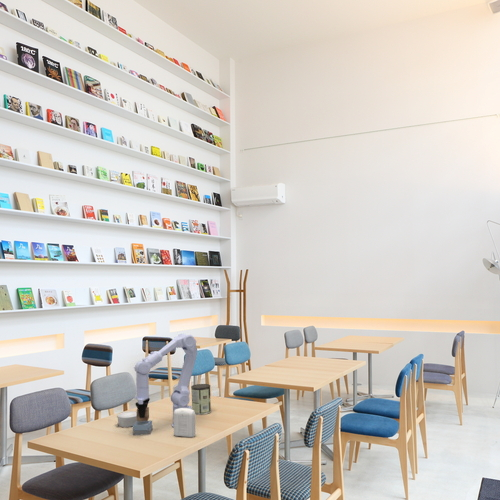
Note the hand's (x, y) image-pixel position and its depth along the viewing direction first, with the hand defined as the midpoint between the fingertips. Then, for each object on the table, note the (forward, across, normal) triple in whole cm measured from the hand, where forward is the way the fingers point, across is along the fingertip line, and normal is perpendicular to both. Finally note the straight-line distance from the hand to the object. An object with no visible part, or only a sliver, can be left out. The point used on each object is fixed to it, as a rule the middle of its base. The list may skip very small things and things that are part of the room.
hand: (142, 416), depth 225 cm
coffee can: (+8, -30, +27) cm, 41 cm away
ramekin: (+8, -14, -9) cm, 18 cm away
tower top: (+6, 0, 0) cm, 6 cm away
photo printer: (+8, +9, +20) cm, 23 cm away
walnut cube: (+2, 0, 0) cm, 2 cm away
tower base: (+8, 0, 0) cm, 8 cm away
